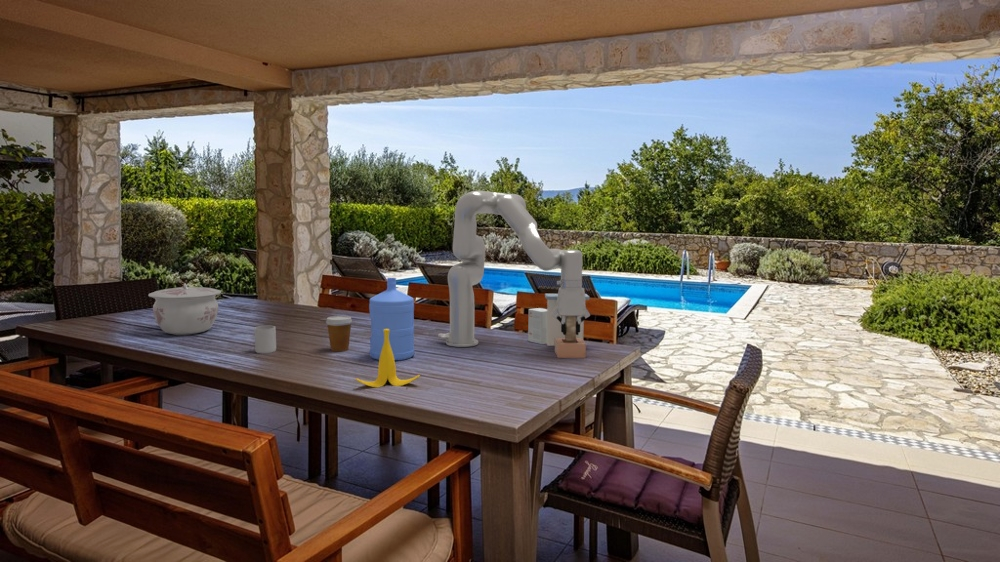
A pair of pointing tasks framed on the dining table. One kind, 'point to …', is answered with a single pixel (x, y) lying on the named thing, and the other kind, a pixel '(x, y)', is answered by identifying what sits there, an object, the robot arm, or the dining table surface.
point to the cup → (265, 339)
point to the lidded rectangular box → (557, 321)
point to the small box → (537, 325)
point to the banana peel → (387, 367)
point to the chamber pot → (185, 309)
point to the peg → (570, 329)
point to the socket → (570, 348)
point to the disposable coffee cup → (339, 332)
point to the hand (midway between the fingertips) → (570, 333)
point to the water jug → (392, 322)
